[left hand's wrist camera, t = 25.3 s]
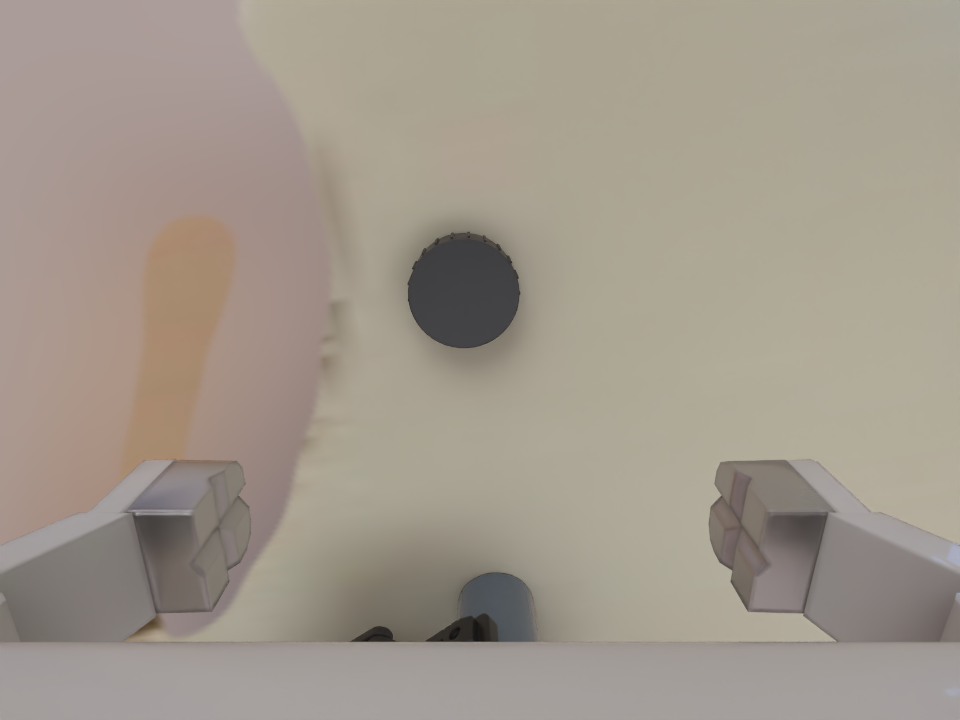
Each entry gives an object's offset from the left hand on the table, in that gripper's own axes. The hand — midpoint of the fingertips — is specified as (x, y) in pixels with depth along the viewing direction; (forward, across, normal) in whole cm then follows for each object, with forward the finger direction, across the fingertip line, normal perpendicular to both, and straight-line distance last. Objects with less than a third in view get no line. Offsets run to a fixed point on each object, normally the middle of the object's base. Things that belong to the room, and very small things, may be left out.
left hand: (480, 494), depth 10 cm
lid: (+18, +1, +1) cm, 18 cm away
